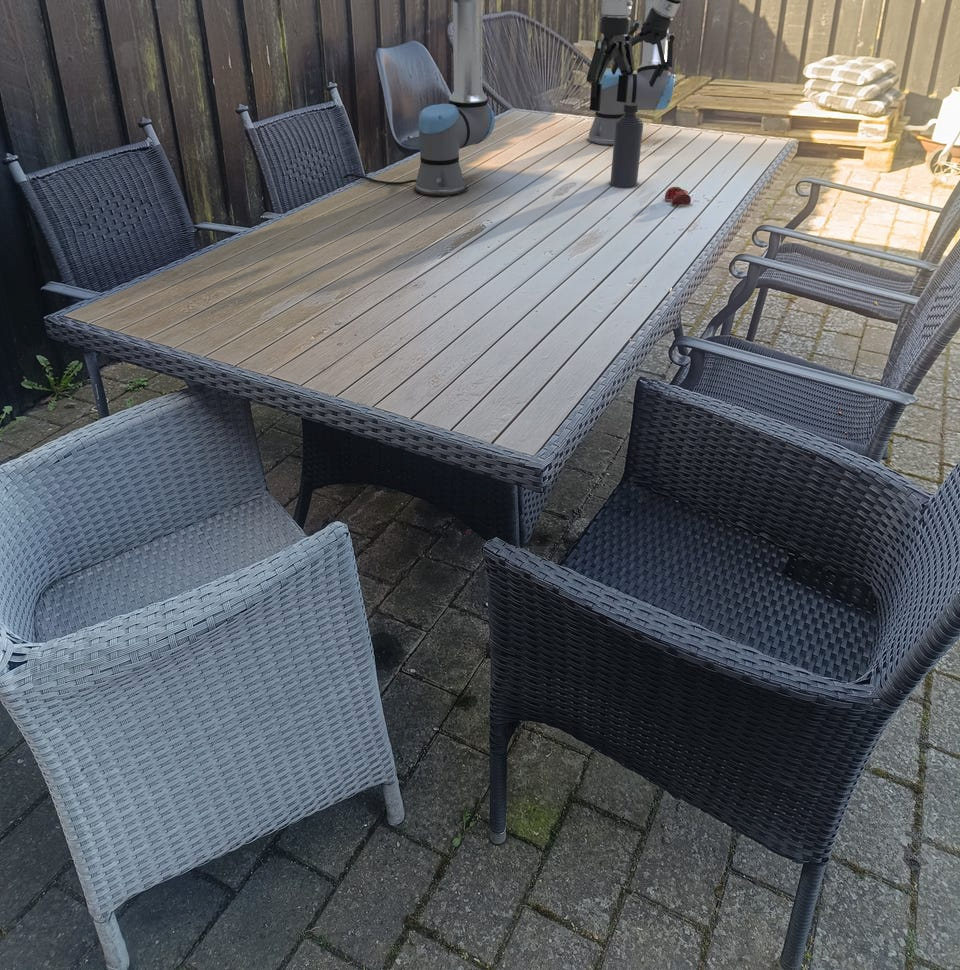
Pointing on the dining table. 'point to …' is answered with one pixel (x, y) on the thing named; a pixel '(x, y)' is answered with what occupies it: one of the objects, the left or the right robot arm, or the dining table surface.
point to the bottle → (626, 151)
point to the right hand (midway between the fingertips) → (631, 78)
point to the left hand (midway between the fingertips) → (608, 106)
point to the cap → (630, 107)
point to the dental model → (677, 196)
